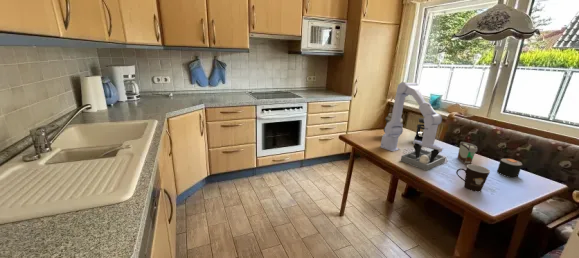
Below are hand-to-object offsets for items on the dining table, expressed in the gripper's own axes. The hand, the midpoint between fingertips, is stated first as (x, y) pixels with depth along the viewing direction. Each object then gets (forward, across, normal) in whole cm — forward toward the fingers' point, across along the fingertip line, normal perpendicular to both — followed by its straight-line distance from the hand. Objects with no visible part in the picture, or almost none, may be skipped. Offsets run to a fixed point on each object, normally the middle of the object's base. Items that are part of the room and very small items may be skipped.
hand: (424, 159), depth 135 cm
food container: (+4, -10, -31) cm, 33 cm away
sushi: (+4, -30, -31) cm, 43 cm away
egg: (+3, 0, 0) cm, 3 cm away
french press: (+4, +22, -41) cm, 46 cm away
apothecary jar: (+4, +38, -30) cm, 49 cm away
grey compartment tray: (+4, +4, -7) cm, 9 cm away
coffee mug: (+4, -24, +4) cm, 24 cm away
